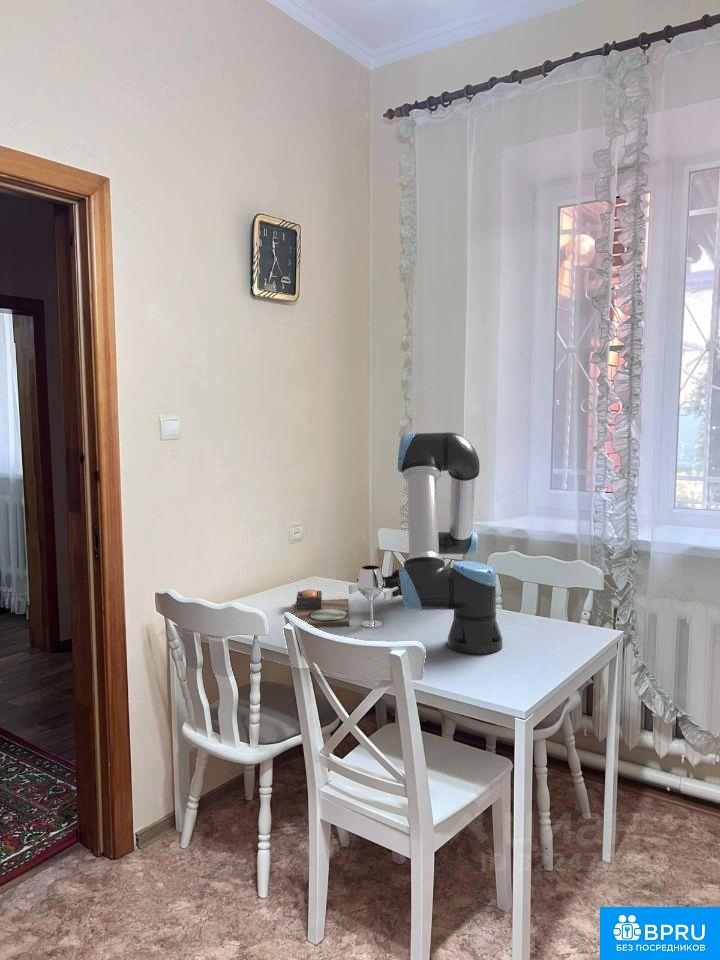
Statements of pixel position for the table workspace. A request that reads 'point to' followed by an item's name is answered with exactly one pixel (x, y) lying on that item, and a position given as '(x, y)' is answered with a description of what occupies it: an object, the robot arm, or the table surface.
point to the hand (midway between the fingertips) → (366, 592)
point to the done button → (309, 593)
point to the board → (322, 611)
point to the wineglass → (371, 589)
